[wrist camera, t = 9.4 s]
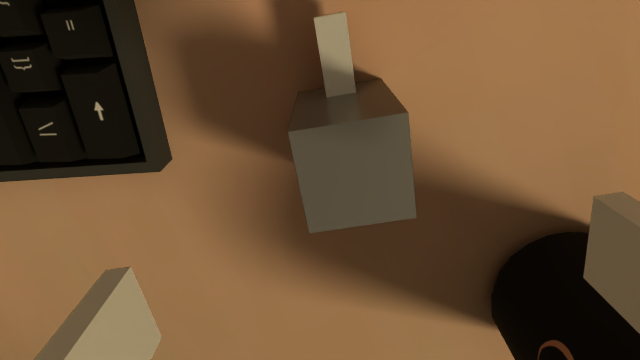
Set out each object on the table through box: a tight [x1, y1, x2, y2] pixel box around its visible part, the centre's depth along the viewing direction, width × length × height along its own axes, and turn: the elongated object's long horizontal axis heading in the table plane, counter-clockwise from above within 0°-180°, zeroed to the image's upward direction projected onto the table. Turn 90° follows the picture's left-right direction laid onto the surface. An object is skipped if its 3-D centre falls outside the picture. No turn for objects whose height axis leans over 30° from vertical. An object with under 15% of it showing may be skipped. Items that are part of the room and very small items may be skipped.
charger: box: [288, 12, 417, 233], centre depth 20 cm, size 5×9×8 cm, turn 10°
